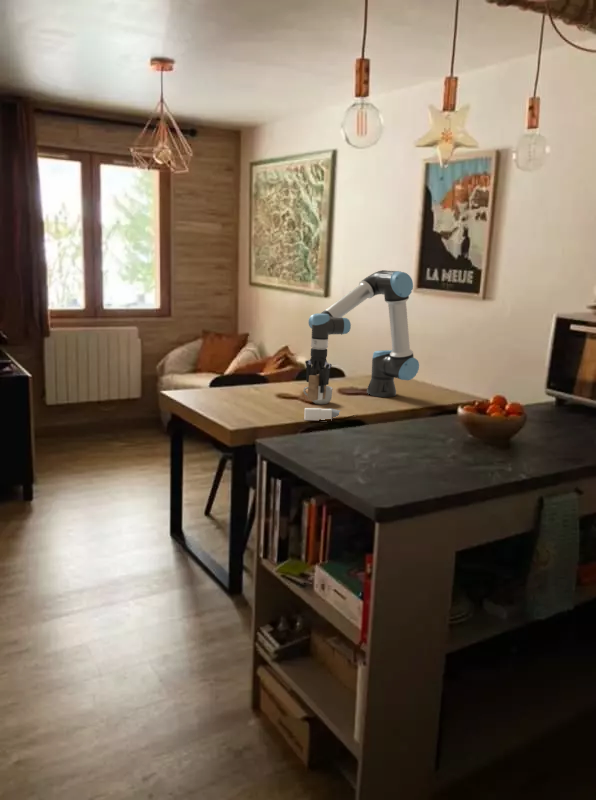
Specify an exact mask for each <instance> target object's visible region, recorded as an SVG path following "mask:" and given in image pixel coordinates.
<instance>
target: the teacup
mask: <svg viewBox="0 0 596 800" xmlns="http://www.w3.org/2000/svg"><path fill="white" fill-rule="evenodd" d="M333 389H334V388H333V386H330V385H326V395H325V399H322V400H311V401H312V402H313V404H315V405H327V404H329V403H330V402H331V401H332V398H333V397H332V396H333ZM306 390H308V386H305V387H304V388H303V394H304V395H305V396H306V397H308V392H306Z"/></svg>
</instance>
